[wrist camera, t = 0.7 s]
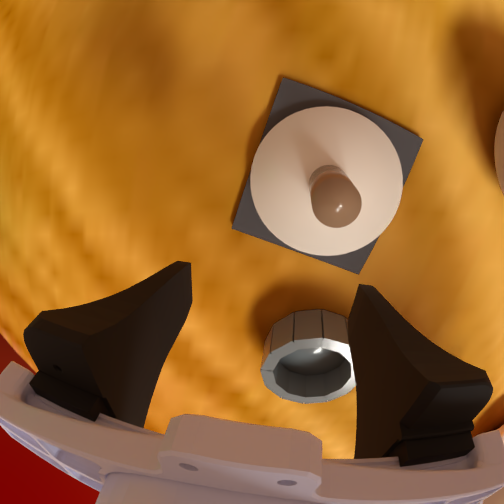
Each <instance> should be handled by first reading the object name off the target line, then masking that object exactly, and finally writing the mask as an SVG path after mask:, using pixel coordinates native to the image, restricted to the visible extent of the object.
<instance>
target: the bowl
mask: <svg viewBox="0 0 504 504" xmlns="http://www.w3.org/2000/svg"><path fill="white" fill-rule="evenodd" d="M260 371H261V374H262V377H263V381H264V384H265V386H266V387H267V388H268V389H270V390H271V391H272V392H274V393H275V394H276V395H278V396H279V397H280V398H281V397H282V399H286V400H290V401H294V402H299V403H305V404H307V403H320V402H327V400H328V401H331V400H333V399H336V398H338V397H340V396H343V395H345V394H347V393H348V392H350V391H351V390H352V389H353V388H354V387H355V386H356V382H355V376H354V370H353V364H352V359H351V353H350V347H349V341H348V319H347V318H346V317H344V316H342V315H339V314H336V313H333V312H330V311H327V310H324V309H322V310H321V309H315V310H306V311H297V312H295V313H294V312H293V313H291V314H290V315H288V316H286V317H285V318H283V319H281V320H280V321H278V322H276V323H275V324H274V325H273V326H272V328H271V330H270V332H269V334H268V336H267V338H266V340H265V345H264V351H263V357H262V363H261V370H260Z"/></svg>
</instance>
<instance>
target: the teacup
mask: <svg viewBox="0 0 504 504" xmlns="http://www.w3.org/2000/svg"><path fill="white" fill-rule="evenodd" d="M494 156H495V167H496V173H497V178H498V181H499V185H500V188H501V190H502V193H503V195H504V111H503V112H502V115H501V117H500V119H499V123H498V126H497V130H496V136H495V145H494Z"/></svg>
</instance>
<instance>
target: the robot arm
mask: <svg viewBox="0 0 504 504" xmlns="http://www.w3.org/2000/svg"><path fill="white" fill-rule="evenodd" d="M191 304H192V280H191V263H189V262H182V261H176V262H174V263H172V264H171V265H169V266H167V267H166V268H164V269H162V270H160V271H159V272H157V273H155V274H154V275H152V276H150V277H148V278H147V279H145V280H143V281H141V282H139V283H137V284H135V285H134V286H132V287H130V288H128V289H126V290H123V291H121V292H119V293H116V294H114V295H112V296H109V297H106V298H103V299H100V300H97V301H94V302H91V303H87V304H83V305H79V306H74V307H69V308H64V309H56V310H48V311H42V312H41V313H40V314H39V315H38V316H37V317H36V318H35V319H34V320H33V321H32V322H31V323H30V324H29V325H28V327H27V328H26V329H25V330H24V334H23V335H24V341H25V344H26V347H27V349H28V351H29V353H30V355H31V357H32V359H33V360H34V362H35V364H36V366H37V368H38V370H39V371H38V372H37V373H36V375H34V374H33V373H32V372H30V371H29V370H28V369H26V368H24V367H23V366H21V365H19V364H17V363H15V362H13V361H11V363H10V364H9V365H8V366H7V367H6V369H5V370H4V371H3V372H2V374H1V375H0V425H1V426H2V427H3V429H5V431H6V432H7V433H8V434H9V435H10V436H11V437H12V438H14V439H15V440H17V441H18V442H19V443H21V444H22V445H24V446H25V447H27V448H28V449H29V450H31V451H32V452H34V453H35V454H37V455H38V456H40V457H41V458H43V459H44V460H46V461H47V462H49V463H50V464H52V465H54V466H55V467H57V468H59V469H60V470H62V471H63V472H65V473H67V474H68V475H70V476H72V477H74V478H75V479H77V480H79V481H81V482H82V483H84V484H86V485H88V486H90V487H92V488H94V489H96V490H98V491H100V494H99V496H98V499H97V501H96V504H482V503H483V500H484V499H486V498H487V497H489V496H490V495H492V494H493V493H495V492H497V491H498V490H500V489H501V488H503V487H504V444H503V441H502V437H501V434H500V432H499V430H494V431H490V432H486V433H482V434H479V435H477V436H475V437H473V438H472V435H471V432H470V431H472V430H473V429H474V424H473V421H472V420H473V419H474V418H475V417H476V416H477V415H478V414H479V412H480V411H481V410H482V409H483V408H484V407H485V405H486V404H487V403H488V401H489V400H490V398H491V395H492V393H493V387H492V385H491V382H490V380H489V378H488V376H487V373H486V371H485V370H482V369H480V368H478V367H475V366H473V365H471V364H468V363H466V362H464V361H462V360H460V359H458V358H456V357H455V356H453V355H451V354H449V353H448V352H446V351H444V350H443V349H441V348H440V347H438V346H437V345H435V344H434V343H433V342H431V341H430V340H428V339H427V338H426V337H425V336H423V335H422V334H421V333H420V332H418V331H417V330H416V329H415V328H414V327H413V326H412V325H411V324H410V323H408V322H407V321H406V320H405V319H404V318H403V317H402V316H401V315H400V314H399V313H398V312H397V311H396V310H395V309H394V308H393V307H392V305H391V304H390V303H389V302H388V301H387V300H386V299H385V298H384V297H383V296H382V295H381V294H380V293H379V292H378V291H377V290H376V289H375V288H374V287H373V286H371V285H362V284H359V286H358V290H357V293H356V296H355V300H354V303H353V306H352V309H351V313H350V316H349V319H348V341H349V347H350V353H351V359H352V364H353V370H354V376H355V382H356V392H357V429H356V445H355V456H354V459H322V441H321V440H320V439H318V438H317V437H315V436H314V435H312V434H311V433H309V432H305V431H301V430H296V429H291V428H281V427H272V426H264V425H256V424H249V423H243V422H236V421H230V420H225V419H219V418H214V417H209V416H204V415H194V414H184V415H180V416H177V417H174V418H171V420H170V422H169V425H168V428H167V430H166V433H165V435H164V434H160V433H157V432H154V431H150V430H147V429H144V424H145V420H146V416H147V412H148V409H149V405H150V402H151V398H152V395H153V392H154V389H155V386H156V383H157V380H158V377H159V375H160V372H161V369H162V366H163V364H164V362H165V360H166V357H167V355H168V353H169V351H170V350H171V348H172V346H173V344H174V342H175V340H176V338H177V336H178V334H179V332H180V330H181V329H182V327H183V325H184V323H185V321H186V318H187V316H188V313H189V310H190V307H191Z"/></svg>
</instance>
